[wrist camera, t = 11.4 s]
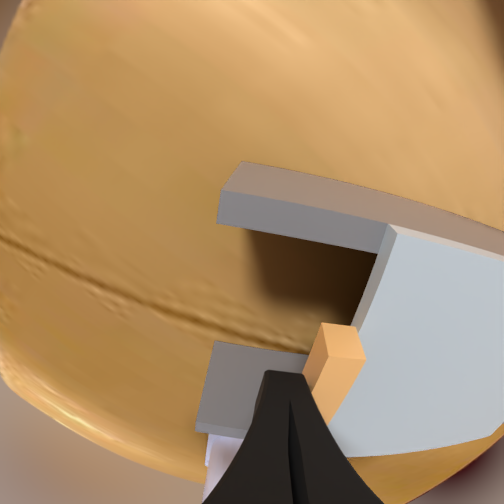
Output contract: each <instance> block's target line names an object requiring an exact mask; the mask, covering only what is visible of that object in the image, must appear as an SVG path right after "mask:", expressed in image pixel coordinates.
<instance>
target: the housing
mask: <svg viewBox="0 0 504 504" xmlns="http://www.w3.org/2000/svg"><path fill="white" fill-rule="evenodd" d="M217 224H223V225H228V226H234V227H240V228H245V229H251V230H256V231H262V232H267V233H273V234H278V235H284V236H289V237H294V238H300V239H305V240H310V241H315V242H321V243H326V244H331V245H336V246H341V247H346V248H351V249H356V250H361V251H366V252H371V253H376V254H378V252H379V250H380V247H381V244H382V241H383V238H384V234H385V231H386V228H387V225H388V224H391V225H396V226H400V227H403V228H407V229H411V230H415V231H419V232H423V233H427V234H430V235H434V236H438V237H441V238H445V239H449V240H452V241H456V242H459V243H463V244H466V245H469V246H473V247H476V248H480V249H483V250H486V251H489V252H493V253H496V254H499V255H502V256H504V232H503V231H501V230H498V229H495V228H493V227H490V226H487V225H485V224H482V223H479V222H477V221H474V220H471V219H468V218H465V217H463V216H460V215H457V214H454V213H451V212H448V211H445V210H442V209H439V208H435V207H432V206H429V205H426V204H423V203H419V202H416V201H413V200H409V199H406V198H403V197H399V196H396V195H392V194H388V193H385V192H381V191H378V190H374V189H370V188H366V187H362V186H358V185H354V184H350V183H346V182H342V181H338V180H334V179H329V178H325V177H320V176H316V175H311V174H307V173H302V172H297V171H292V170H287V169H282V168H277V167H272V166H266V165H261V164H255V163H250V162H244V161H241V163H240V164H239V166H238V167H237V168H236V170H235V171H234V172H233V174H232V175H231V177H230V178H229V179H228V181H227V182H226V184H225V185H224V186H223V188H222V189H221V194H220V201H219V208H218V215H217ZM308 357H309V355H304V354H296V353H288V352H281V351H274V350H267V349H260V348H254V347H248V346H242V345H236V344H230V343H225V342H219V341H215V342H214V346H213V350H212V354H211V359H210V363H209V367H208V371H207V376H206V380H205V384H204V388H203V393H202V397H201V401H200V406H199V410H198V414H197V419H196V427H195V431H197V432H202V433H208V434H213V435H219V436H225V437H231V438H238V439H244V438H245V436H246V434H247V432H248V430H249V427H250V425H251V423H252V419H253V414H254V408H255V402H256V399H257V395H258V392H259V389H260V385H261V382H262V379H263V375H264V372H265V371H267V370H276V371H284V372H292V373H301V374H302V371H303V369H304V367H305V364H306V362H307V359H308ZM503 423H504V422H503ZM503 423H502V424H503Z"/></svg>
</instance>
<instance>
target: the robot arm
mask: <svg viewBox="0 0 504 504" xmlns="http://www.w3.org/2000/svg"><path fill="white" fill-rule="evenodd" d="M205 465H206V466H207V467H208V470H207V476H206V482H205V488H204V494H203V499H202V504H384V503H383V502H382V501H381V500H380V499H379V498H378V497H377V496H376V495H375V494H374V492H373V491H372V490H371V489H370V488H369V487H368V486H367V485H366V484H365V482H364V481H363V480H362V479H361V477H360V476H359V475H358V474H357V472H356V471H355V470H354V468H353V467H352V466H351V464H350V463H349V461H348V460H347V458H346V457H345V455H344V454H343V452H342V451H341V449H340V448H339V446H338V444H337V443H336V441H335V439H334V438H333V436H332V434H331V432H330V430H329V428H328V427H327V425H326V423H325V421H324V419H323V417H322V415H321V413H320V411H319V409H318V407H317V404H316V402H315V400H314V398H313V396H312V393H311V391H310V388H309V386H308V384H307V381H306V378H305V376H304V375H303V374H301V373H292V372H284V371H276V370H267V371H265V372H264V375H263V379H262V382H261V385H260V389H259V392H258V395H257V399H256V402H255V408H254V414H253V419H252V423H251V425H250V427H249V430H248V432H247V434H246V436H245V438H244V439H238V438H231V437H225V436H219V435H213V434H209V437H208V444H207V451H206V458H205Z"/></svg>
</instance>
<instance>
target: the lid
mask: <svg viewBox="0 0 504 504" xmlns="http://www.w3.org/2000/svg"><path fill="white" fill-rule="evenodd" d="M302 374H303V375H304V376H305V378H306V381H307V384H308V386H309V388H310V391H311V393H312V396H313V398H314V400H315V402H316V404H317V407H318V409H319V411H320V413H321V415H322V417H323V419H324V421H325V423H326V425H327V427H328V428H329V430H330V432H331V434H332V436H333V438H334V439H335V441H336V443H337V444H338V446H339V448H340V449H341V451H342V452H343V454H344V455H345V457H364V456H379V455H390V454H400V453H408V452H415V451H422V450H428V449H434V448H440V447H445V446H450V445H455V444H459V443H464V442H468V441H472V440H476V439H480V438H484V437H487V436H490V435H491V434H492V433H493V432H494V431H495V430H496V429H497V428H498V427H499V426H500V425H501V424H502V423H503V422H504V256H502V255H499V254H496V253H493V252H489V251H486V250H483V249H480V248H476V247H473V246H469V245H466V244H463V243H459V242H456V241H452V240H449V239H445V238H441V237H438V236H434V235H430V234H427V233H423V232H419V231H415V230H411V229H407V228H403V227H400V226H396V225H391V224H388V225H387V228H386V231H385V234H384V238H383V241H382V244H381V247H380V250H379V252H378V255H377V258H376V261H375V264H374V267H373V269H372V272H371V275H370V278H369V280H368V283H367V286H366V288H365V291H364V293H363V296H362V299H361V301H360V304H359V306H358V309H357V311H356V313H355V316H354V318H353V321H352V323H351V325H350V326H345V325H337V324H330V323H321V325H320V328H319V331H318V333H317V336H316V339H315V341H314V344H313V346H312V349H311V352H310V354H309V357H308V359H307V362H306V364H305V367H304V369H303V371H302Z"/></svg>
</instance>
